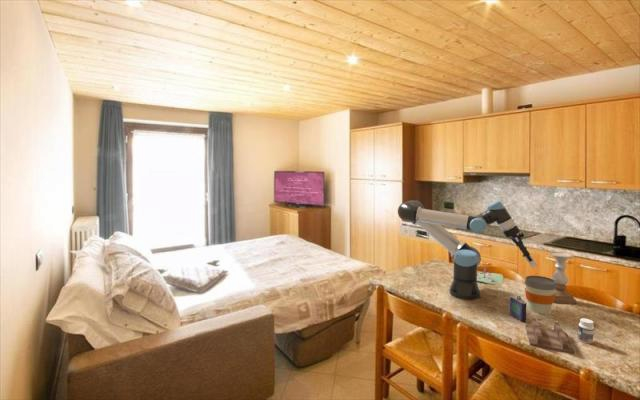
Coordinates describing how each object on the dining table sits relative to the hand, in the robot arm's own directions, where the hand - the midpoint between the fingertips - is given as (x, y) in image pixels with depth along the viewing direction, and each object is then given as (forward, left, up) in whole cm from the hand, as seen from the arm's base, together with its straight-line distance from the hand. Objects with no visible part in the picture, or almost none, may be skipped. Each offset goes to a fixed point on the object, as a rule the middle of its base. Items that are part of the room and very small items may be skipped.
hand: (532, 263), depth 169 cm
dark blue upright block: (-9, -30, -18) cm, 36 cm away
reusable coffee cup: (+1, -16, -18) cm, 25 cm away
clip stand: (0, -46, -18) cm, 50 cm away
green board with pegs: (-21, +24, -19) cm, 37 cm away
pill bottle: (+13, -41, -18) cm, 47 cm away
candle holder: (+12, +3, -18) cm, 22 cm away
